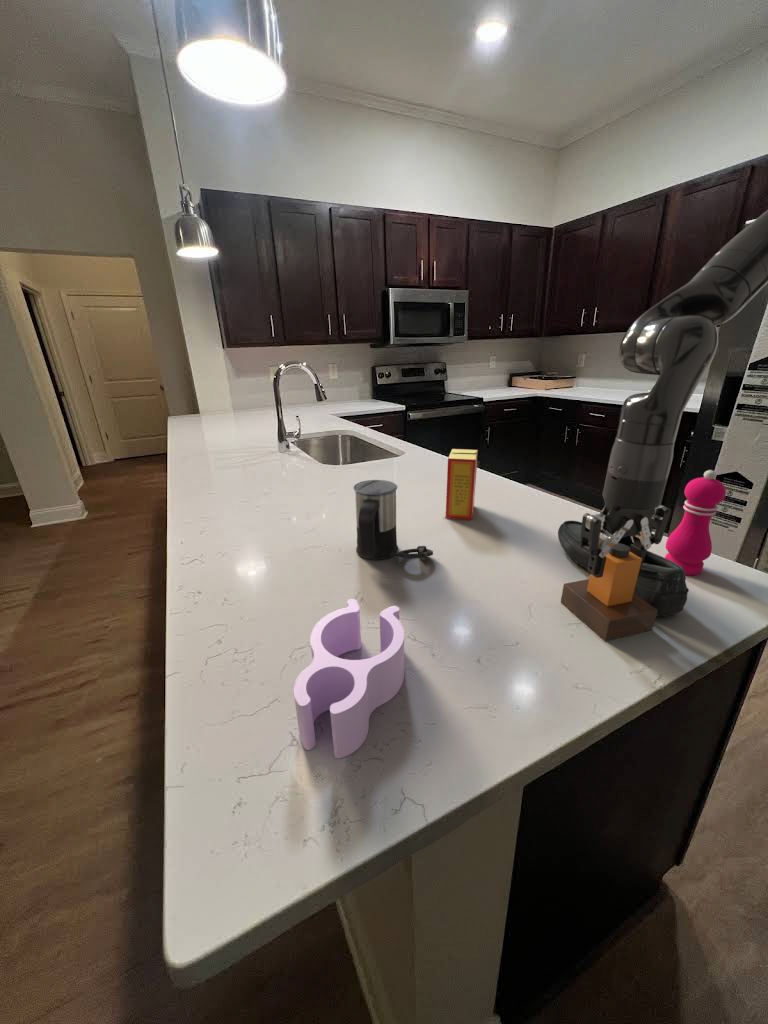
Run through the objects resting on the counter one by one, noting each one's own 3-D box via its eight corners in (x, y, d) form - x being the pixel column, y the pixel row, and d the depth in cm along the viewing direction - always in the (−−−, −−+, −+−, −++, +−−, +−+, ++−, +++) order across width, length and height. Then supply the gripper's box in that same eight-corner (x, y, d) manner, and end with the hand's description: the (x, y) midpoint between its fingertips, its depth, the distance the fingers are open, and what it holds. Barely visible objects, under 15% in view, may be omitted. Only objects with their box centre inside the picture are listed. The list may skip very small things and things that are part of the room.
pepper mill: (712, 571, 81) (745, 472, 73) (690, 580, 78) (722, 479, 70) (674, 555, 87) (701, 462, 79) (652, 563, 84) (678, 468, 76)
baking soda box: (471, 520, 105) (475, 458, 99) (445, 517, 107) (448, 457, 100) (473, 506, 113) (477, 448, 107) (449, 504, 115) (452, 447, 109)
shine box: (652, 630, 66) (658, 610, 64) (604, 641, 63) (609, 621, 62) (603, 593, 75) (607, 575, 73) (560, 602, 73) (563, 583, 71)
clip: (374, 768, 46) (372, 723, 43) (273, 740, 49) (265, 696, 46) (414, 646, 63) (415, 608, 60) (338, 632, 67) (335, 595, 64)
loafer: (579, 538, 94) (587, 496, 90) (704, 613, 69) (723, 559, 65) (540, 546, 92) (547, 503, 88) (656, 627, 66) (672, 571, 62)
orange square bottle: (644, 551, 63) (620, 538, 67) (619, 556, 62) (596, 542, 66) (631, 601, 66) (609, 586, 70) (607, 606, 65) (586, 590, 69)
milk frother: (355, 541, 96) (352, 479, 90) (423, 537, 97) (424, 476, 91) (358, 574, 83) (354, 505, 77) (436, 568, 84) (439, 500, 78)
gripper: (655, 458, 64) (632, 553, 71) (576, 468, 61) (559, 566, 67) (701, 473, 58) (671, 576, 64) (615, 484, 54) (592, 592, 61)
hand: (614, 571), depth 66 cm, fingers open, 6 cm apart
